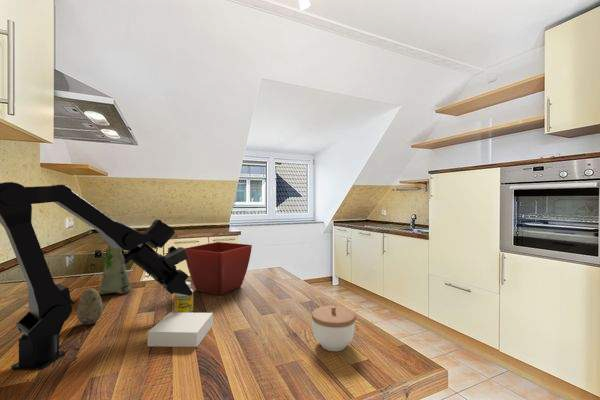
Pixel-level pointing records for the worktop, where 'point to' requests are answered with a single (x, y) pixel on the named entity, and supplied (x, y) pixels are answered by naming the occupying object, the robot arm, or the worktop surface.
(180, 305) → the supplement bottle
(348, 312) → the lidded jar
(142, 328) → the worktop surface
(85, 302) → the decorative egg
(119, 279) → the pouch
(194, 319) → the podium
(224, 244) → the plant pot
